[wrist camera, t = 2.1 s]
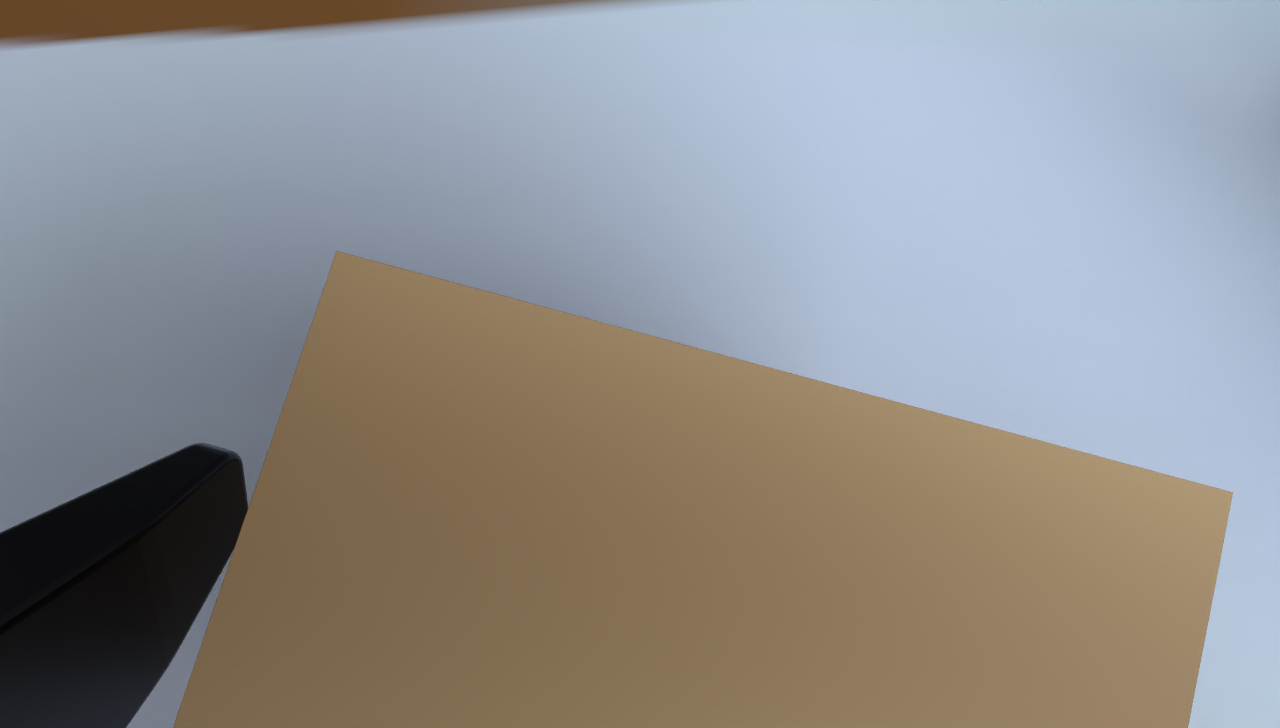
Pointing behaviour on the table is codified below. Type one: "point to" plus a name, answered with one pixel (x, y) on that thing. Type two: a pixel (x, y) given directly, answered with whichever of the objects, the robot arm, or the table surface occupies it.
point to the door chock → (676, 544)
